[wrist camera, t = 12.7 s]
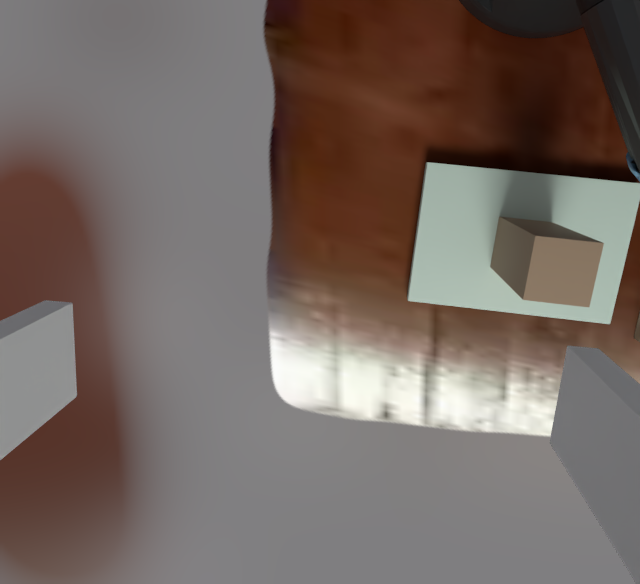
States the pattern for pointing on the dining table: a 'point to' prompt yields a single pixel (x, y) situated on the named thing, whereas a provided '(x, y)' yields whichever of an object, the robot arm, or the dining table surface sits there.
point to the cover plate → (519, 196)
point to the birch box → (637, 330)
